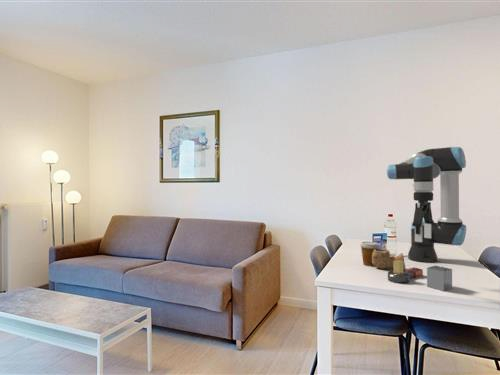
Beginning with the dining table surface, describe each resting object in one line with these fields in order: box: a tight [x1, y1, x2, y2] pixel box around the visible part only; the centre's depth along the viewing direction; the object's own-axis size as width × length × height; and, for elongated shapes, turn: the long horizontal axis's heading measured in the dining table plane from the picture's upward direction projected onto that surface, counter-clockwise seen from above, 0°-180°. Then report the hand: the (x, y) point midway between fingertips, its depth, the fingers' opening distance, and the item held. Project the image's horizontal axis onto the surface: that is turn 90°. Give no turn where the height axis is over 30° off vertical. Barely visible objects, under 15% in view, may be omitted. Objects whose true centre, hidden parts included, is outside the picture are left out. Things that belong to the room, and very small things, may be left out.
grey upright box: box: [426, 265, 453, 292], centre depth 129 cm, size 7×7×8 cm
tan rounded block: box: [372, 247, 406, 271], centre depth 158 cm, size 9×16×10 cm, turn 74°
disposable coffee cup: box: [360, 241, 379, 267], centre depth 167 cm, size 10×10×12 cm
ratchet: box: [387, 260, 424, 285], centre depth 142 cm, size 20×9×9 cm, turn 121°
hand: (423, 239), depth 132 cm, fingers open, 13 cm apart
